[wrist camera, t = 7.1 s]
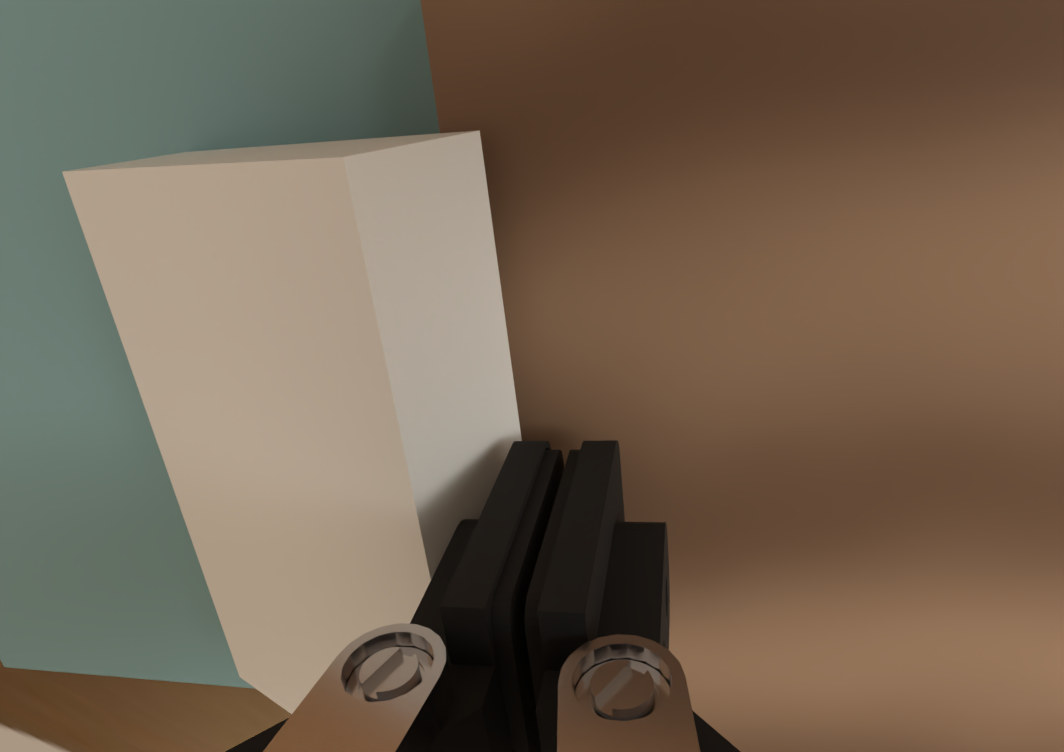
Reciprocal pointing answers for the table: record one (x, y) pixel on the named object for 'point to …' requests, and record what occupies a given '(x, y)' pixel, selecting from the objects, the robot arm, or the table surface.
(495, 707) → the robot arm
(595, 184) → the brown wooden flat block
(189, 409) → the box
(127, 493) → the mat
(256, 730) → the table surface
